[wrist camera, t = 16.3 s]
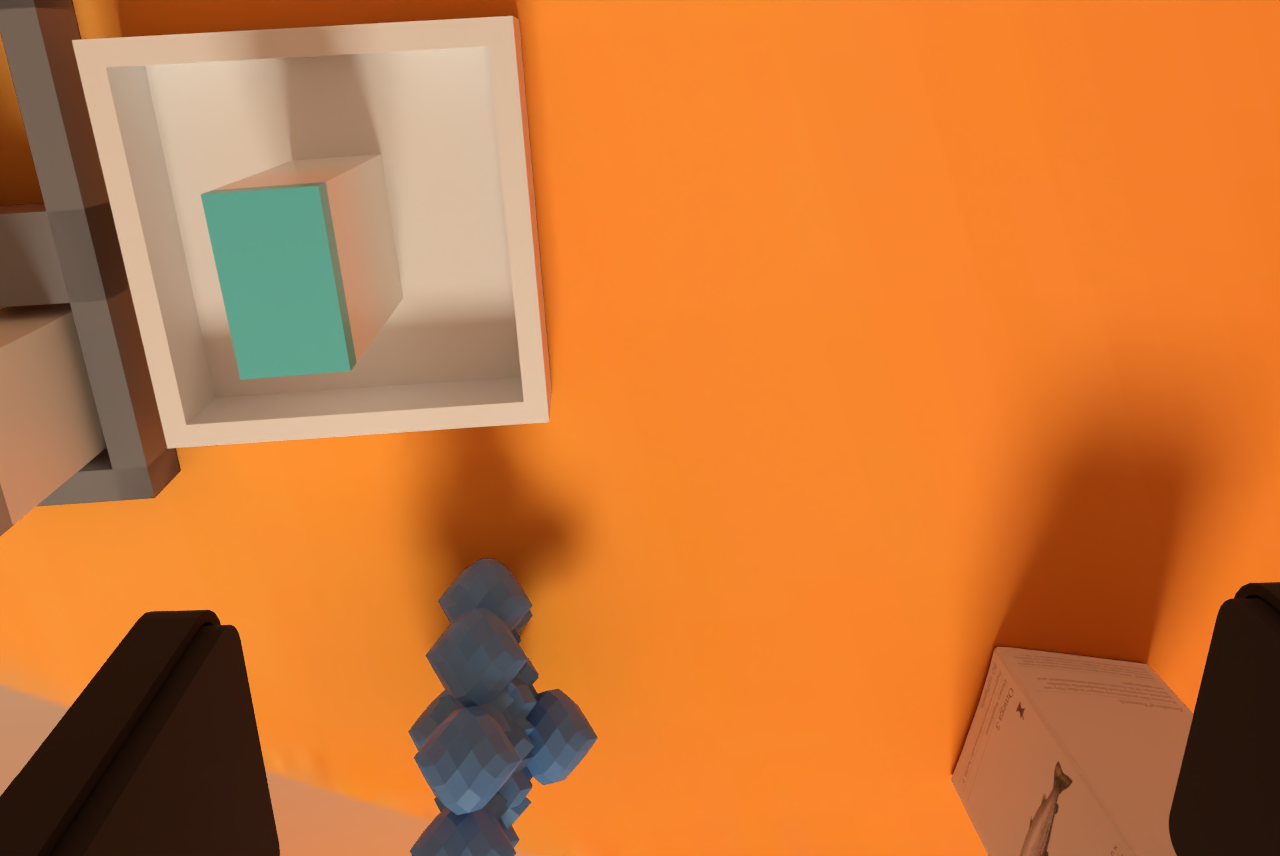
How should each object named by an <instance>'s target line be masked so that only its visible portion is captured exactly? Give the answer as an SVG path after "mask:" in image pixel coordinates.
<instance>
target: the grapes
mask: <svg viewBox="0 0 1280 856" xmlns="http://www.w3.org/2000/svg"><path fill="white" fill-rule="evenodd" d="M438 602H439V604H440V606H441V607H442V609H443V611H444V612H445V614H446V616H447V618H448V619H449V621H450V623H451V625H450V626H449V627H448V628H447V629H446V631H445V632H444V633H443V634H442V635H441V637H440V638H439V639H438V640H437V642H436V643H435V644H434V645H433V647H432V648H431V649H430V651H429V652H428V653H427V655H426V657H427V658H428V660H429V662H430V664H431V666H432V667H433V669H434V671H435V673H436V674H437V676H438V678H439V679H440V681H441V683H442V685H443V686H444V688H445V691H443V692H442V693H441V694H440V695H439V696H438V697H437V698H436V699H435V700H434V701H433V702H432V703H431V704H430V705H429V706H428V707H427V709H426V710H425V711H424V712H423V713H422V714H421V716H420V717H419V718H418V720H417V721H416V722H415V724H414V725H413V726H412V728H411V729H410V730H409V734H410V736H411V738H412V739H413V741H414V743H415V745H416V747H417V749H418V753H417V754H416V756H415V757H414V759H415V760H416V762H417V764H418V766H419V768H420V770H421V772H422V774H423V776H424V778H425V779H426V781H427V783H428V784H429V786H430V788H431V789H432V791H433V793H434V795H435V796H436V798H435V799H434V800H435V802H436V804H437V806H438V808H439V810H440V812H441V813H440V814H439V815H438V816H437V817H436V818H435V819H434V820H433V821H432V823H431V824H430V825H429V826H428V827H427V828H426V829H425V831H424V832H423V833H422V834H421V836H420V837H419V839H418V840H417V841H416V843H415V844H414V846H413V847H412V849H411V850H410V852H411V854H412V856H514V855H515V854H516V852H515V850H514V847H515V845H516V844H517V842H518V841H519V838H518V836H517V834H516V833H515V831H514V829H513V827H512V824H513V823H514V822H515V820H516V819H517V818H518V817H519V816H520V815H521V814H522V812H523V811H524V810H525V809H526V808H527V807H528V805H529V804H530V803H531V801H530V800H529V799H528V798H526V795H527V794H528V793H529V791H530V790H531V788H532V784H531V782H530V780H531V778H532V777H534V778H535V779H536V780H538V781H539V782H540V783H541V784H542V785H545V784H550V783H554V782H558V781H561V780H564V779H565V778H566V777H567V776H568V775H569V774H570V773H571V772H572V771H573V769H574V768H575V767H576V766H577V765H578V764H579V762H580V761H581V760H582V759H583V758H584V757H585V755H586V754H587V753H588V751H589V750H590V748H591V747H592V745H593V744H594V742H595V741H596V739H597V738H598V737H597V736H596V734H595V732H594V731H593V729H592V727H591V726H590V724H589V722H588V721H587V719H586V718H585V716H584V714H583V713H582V711H581V710H580V708H579V706H578V705H577V704H576V703H575V702H574V701H572V700H571V699H570V698H569V697H568V696H567V695H566V694H564V693H563V692H562V691H560V690H559V689H555V690H549V691H545V692H542V693H539V694H537V692H536V690H535V689H534V687H533V685H532V684H533V683H534V682H535V681H536V680H537V678H538V675H539V674H538V673H537V671H536V670H535V668H534V666H533V665H532V663H531V661H530V660H529V659H528V658H527V657H526V655H525V654H524V652H523V650H522V649H521V647H520V645H519V644H518V643H519V642H520V641H521V640H520V637H519V635H518V634H519V633H520V632H521V630H522V629H523V628H524V626H525V625H526V624H527V622H528V621H529V620H530V618H531V617H532V613H531V612H530V610H529V609H530V608H531V606H532V604H531V603H530V601H529V599H528V598H527V596H526V594H525V593H524V591H523V589H522V588H521V586H520V584H519V583H518V581H517V580H516V578H515V577H514V575H513V574H512V573H511V572H510V571H509V570H508V569H507V568H506V567H505V566H504V565H503V564H501V563H500V562H498V561H497V560H495V559H485V558H483V559H481V560H478V561H476V562H474V563H472V564H471V565H470V566H469V567H468V568H466V569H465V570H464V571H463V572H462V573H461V574H460V575H459V576H458V577H457V578H456V580H455V581H454V582H453V583H452V584H451V586H450V587H449V588H448V589H447V591H446V592H445V593H444V595H443V596H442V597H441V598H440V600H439V601H438Z"/></svg>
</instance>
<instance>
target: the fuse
mask: <svg viewBox="0 0 1280 856" xmlns="http://www.w3.org/2000/svg"><path fill="white" fill-rule="evenodd" d="M105 448H107V446H106V442H105V438H104V434H103V430H102V426H101V422H100V419H99V415H98V411H97V407H96V403H95V399H94V395H93V391H92V387H91V383H90V380H89V376H88V372H87V368H86V364H85V360H84V356H83V352H82V348H81V345H80V341H79V337H78V333H77V329H76V325H75V321H74V317H73V313H72V309H71V306H70V303H60V304H44V305H28V306H13V307H5V308H3V309H0V536H1V535H2V534H3V533H5V532H6V531H7V530H8V529H9V528H11V527H12V526H13V525H14V524H15V523H17V522H18V521H19V520H20V519H21V518H23V517H24V516H25V515H26V514H27V513H29V512H30V511H31V510H32V509H33V508H35V507H36V506H37V505H38V504H39V503H41V502H42V501H43V500H44V499H45V498H47V497H48V496H49V495H50V494H51V493H53V492H54V491H55V490H56V489H57V488H59V487H60V486H61V485H62V484H63V483H65V482H66V481H67V480H68V479H69V478H71V477H72V476H73V475H74V474H75V473H77V472H78V471H79V470H80V469H81V468H83V467H84V466H85V465H86V464H87V463H89V462H90V461H91V460H92V459H93V458H95V457H96V456H97V455H98V454H99V453H101V452H102V451H103V450H104V449H105Z"/></svg>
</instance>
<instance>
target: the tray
mask: <svg viewBox="0 0 1280 856" xmlns="http://www.w3.org/2000/svg"><path fill="white" fill-rule="evenodd" d="M72 43H73V48H74V52H75V56H76V60H77V65H78V69H79V73H80V78H81V82H82V86H83V90H84V95H85V99H86V103H87V107H88V112H89V116H90V120H91V125H92V129H93V133H94V137H95V142H96V146H97V150H98V154H99V159H100V163H101V167H102V171H103V176H104V180H105V184H106V189H107V193H108V197H109V201H110V206H111V210H112V214H113V218H114V223H115V227H116V231H117V235H118V240H119V244H120V248H121V253H122V257H123V261H124V265H125V270H126V274H127V278H128V282H129V287H130V291H131V295H132V300H133V304H134V308H135V312H136V317H137V321H138V325H139V329H140V334H141V338H142V342H143V346H144V351H145V355H146V359H147V364H148V368H149V372H150V376H151V381H152V385H153V389H154V393H155V398H156V402H157V406H158V411H159V415H160V419H161V423H162V428H163V432H164V436H165V440H166V445H167V449H168V448H183V447H197V446H212V445H226V444H241V443H255V442H269V441H284V440H298V439H313V438H327V437H342V436H356V435H371V434H385V433H400V432H414V431H429V430H443V429H458V428H472V427H487V426H501V425H516V424H530V423H545V422H549V418H550V406H551V394H552V387H551V376H550V365H549V353H548V342H547V331H546V319H545V308H544V297H543V285H542V274H541V263H540V251H539V240H538V229H537V217H536V206H535V195H534V183H533V172H532V161H531V149H530V138H529V127H528V115H527V104H526V93H525V81H524V70H523V59H522V47H521V36H520V25H519V19H517V18H516V17H514V16H499V17H481V18H463V19H445V20H427V21H409V22H391V23H372V24H354V25H336V26H318V27H300V28H282V29H264V30H246V31H227V32H209V33H191V34H173V35H155V36H137V37H119V38H100V39H82V40H72ZM373 154H381V155H382V162H383V169H384V175H385V182H386V188H387V195H388V202H389V208H390V215H391V221H392V228H393V235H394V241H395V248H396V255H397V261H398V268H399V274H400V281H401V288H402V294H403V299H402V301H401V302H400V303H399V305H398V306H397V308H396V309H395V310H394V312H393V313H392V315H391V316H390V317H389V319H388V320H387V321H386V323H385V324H384V326H383V327H382V328H381V330H380V331H379V333H378V334H377V335H376V337H375V338H374V340H373V341H372V342H371V344H370V345H369V346H368V348H367V349H366V351H365V352H364V353H363V355H362V356H361V358H360V359H359V360H358V362H357V363H356V364H355V366H354V367H353V369H352V370H351V371H347V372H335V373H322V374H309V375H297V376H284V377H271V378H259V379H246V380H240V375H239V371H238V366H237V362H236V357H235V352H234V348H233V343H232V338H231V334H230V329H229V324H228V320H227V315H226V310H225V306H224V301H223V296H222V292H221V287H220V282H219V278H218V273H217V269H216V264H215V259H214V255H213V250H212V245H211V241H210V236H209V231H208V227H207V222H206V217H205V213H204V208H203V203H202V199H201V194H203V193H206V192H208V191H211V190H214V189H216V188H219V187H222V186H224V185H227V184H230V183H233V182H235V181H238V180H241V179H243V178H246V177H249V176H251V175H254V174H257V173H260V172H262V171H265V170H268V169H270V168H273V167H276V166H278V165H281V164H284V163H286V162H289V161H292V160H304V159H318V158H332V157H346V156H360V155H373Z"/></svg>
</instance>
